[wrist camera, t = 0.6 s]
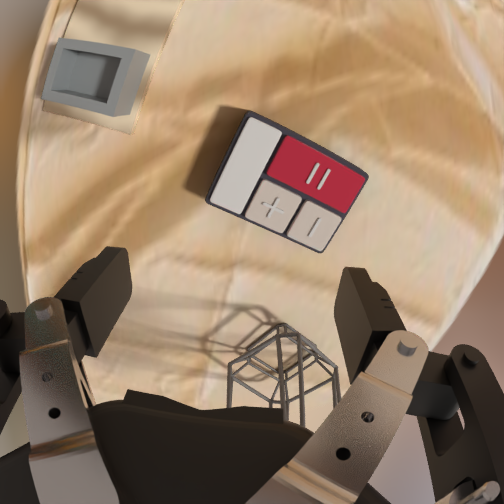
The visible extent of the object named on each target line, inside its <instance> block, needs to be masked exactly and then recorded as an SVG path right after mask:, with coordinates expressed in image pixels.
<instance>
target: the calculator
mask: <svg viewBox="0 0 504 504" xmlns="http://www.w3.org/2000/svg"><path fill="white" fill-rule="evenodd" d="M368 178H369V176H368V174H367V173H366V172H364V171H363V170H362V169H360V168H359V167H357V166H355V165H354V164H352V163H350V162H349V161H347V160H345V159H343V158H342V157H340V156H338V155H336V154H335V153H333V152H331V151H329V150H327V149H326V148H324V147H322V146H320V145H318V144H317V143H315V142H313V141H311V140H309V139H307V138H305V137H303V136H301V135H300V134H298V133H296V132H294V131H292V130H290V129H288V128H286V127H284V126H282V125H280V124H278V123H276V122H274V121H272V120H270V119H268V118H266V117H264V116H262V115H259V114H257V113H255V112H253V111H247V112H246V113H245V115H244V117H243V119H242V121H241V123H240V125H239V127H238V129H237V132H236V134H235V136H234V138H233V140H232V142H231V144H230V146H229V148H228V150H227V152H226V154H225V156H224V159H223V161H222V163H221V165H220V167H219V169H218V171H217V173H216V176H215V178H214V180H213V182H212V184H211V187H210V189H209V191H208V194H207V196H206V199H205V201H206V203H208V204H210V205H212V206H214V207H216V208H219V209H221V210H223V211H226V212H228V213H230V214H233V215H235V216H237V217H239V218H242V219H244V220H246V221H248V222H251V223H253V224H255V225H257V226H260V227H262V228H264V229H266V230H269V231H271V232H273V233H275V234H278V235H280V236H282V237H284V238H287V239H289V240H291V241H293V242H295V243H298V244H300V245H302V246H304V247H306V248H309V249H311V250H313V251H315V252H317V253H323V252H324V250H325V249H326V247H327V246H328V244H329V242H330V241H331V239H332V238H333V236H334V234H335V233H336V231H337V230H338V228H339V226H340V225H341V223H342V222H343V220H344V218H345V217H346V215H347V213H348V212H349V210H350V209H351V207H352V205H353V204H354V202H355V200H356V199H357V197H358V195H359V194H360V192H361V190H362V189H363V187H364V185H365V183H366V182H367V180H368Z"/></svg>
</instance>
